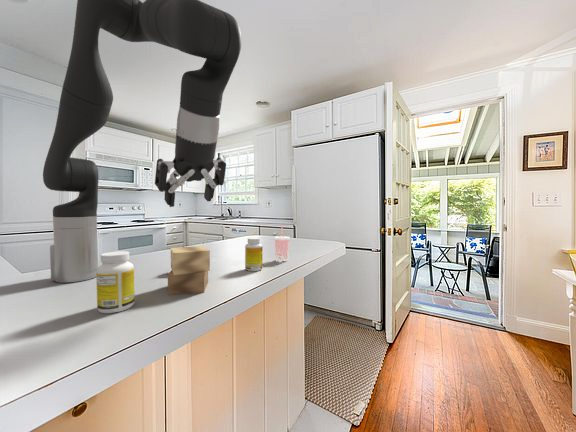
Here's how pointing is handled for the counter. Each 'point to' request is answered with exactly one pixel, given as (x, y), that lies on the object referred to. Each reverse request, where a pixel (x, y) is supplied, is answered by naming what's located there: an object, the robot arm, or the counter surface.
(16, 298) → the counter surface
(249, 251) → the supplement bottle
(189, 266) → the upper block
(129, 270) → the pill bottle
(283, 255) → the beverage cup
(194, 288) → the lower block
